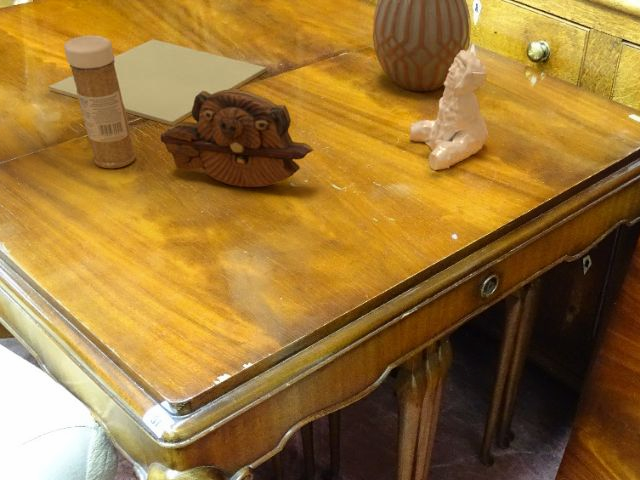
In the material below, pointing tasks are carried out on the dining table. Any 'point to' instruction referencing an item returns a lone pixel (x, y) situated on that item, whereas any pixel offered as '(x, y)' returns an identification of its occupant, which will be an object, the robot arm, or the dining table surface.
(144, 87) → the felt mat
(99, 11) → the dining table surface
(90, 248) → the dining table surface
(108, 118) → the sprinkles bottle
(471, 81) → the white creature statuette
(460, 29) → the vase
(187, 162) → the wooden carving
